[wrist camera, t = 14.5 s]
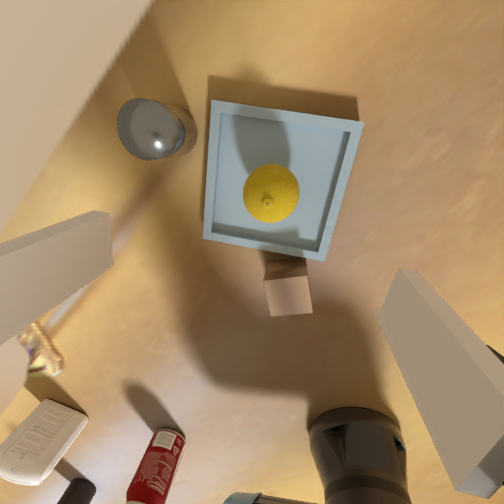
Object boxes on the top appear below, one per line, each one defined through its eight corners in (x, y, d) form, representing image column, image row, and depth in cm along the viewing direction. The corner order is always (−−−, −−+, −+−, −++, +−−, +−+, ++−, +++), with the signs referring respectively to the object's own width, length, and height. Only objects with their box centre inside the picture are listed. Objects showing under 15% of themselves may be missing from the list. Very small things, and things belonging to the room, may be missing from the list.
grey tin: (198, 109, 29) (170, 102, 22) (195, 158, 31) (170, 164, 24) (154, 103, 29) (114, 94, 23) (154, 151, 31) (119, 155, 25)
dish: (359, 123, 27) (364, 122, 25) (322, 254, 33) (324, 261, 31) (216, 101, 28) (211, 99, 26) (207, 233, 34) (202, 238, 32)
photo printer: (43, 406, 56) (-20, 474, 45) (43, 394, 54) (-22, 462, 43) (88, 425, 57) (37, 496, 45) (90, 413, 55) (38, 485, 44)
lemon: (240, 191, 30) (223, 209, 23) (268, 149, 28) (260, 154, 21) (278, 219, 31) (274, 245, 24) (309, 180, 29) (314, 196, 22)
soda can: (157, 421, 52) (121, 496, 41) (189, 432, 52) (162, 510, 41) (153, 440, 55) (118, 514, 44) (183, 450, 55) (156, 528, 44)
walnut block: (305, 256, 34) (307, 275, 29) (310, 290, 36) (312, 312, 31) (267, 261, 35) (263, 280, 30) (273, 294, 37) (271, 316, 32)
